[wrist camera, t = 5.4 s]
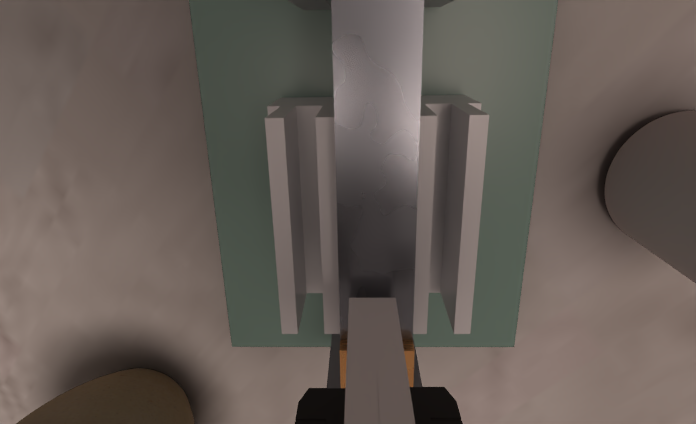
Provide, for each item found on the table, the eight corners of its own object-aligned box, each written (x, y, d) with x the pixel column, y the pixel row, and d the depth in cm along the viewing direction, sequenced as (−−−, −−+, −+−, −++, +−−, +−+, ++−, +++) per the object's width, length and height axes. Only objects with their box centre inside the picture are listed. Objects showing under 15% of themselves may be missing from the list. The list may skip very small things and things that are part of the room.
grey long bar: (329, -76, 13) (325, -96, 11) (423, -78, 13) (432, -99, 11) (342, 387, 18) (340, 421, 16) (408, 387, 18) (413, 422, 16)
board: (187, -80, 19) (58, -173, 11) (559, -90, 18) (714, -195, 10) (236, 335, 26) (180, 467, 18) (508, 335, 25) (577, 471, 17)
